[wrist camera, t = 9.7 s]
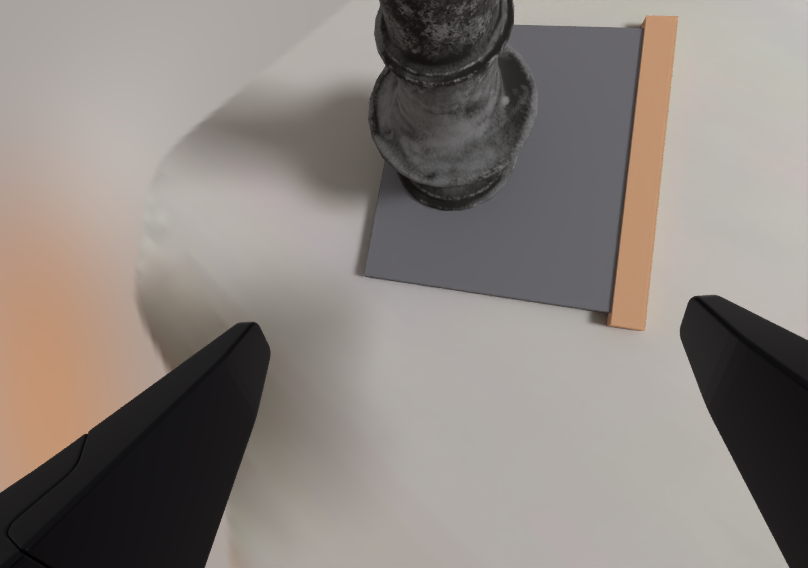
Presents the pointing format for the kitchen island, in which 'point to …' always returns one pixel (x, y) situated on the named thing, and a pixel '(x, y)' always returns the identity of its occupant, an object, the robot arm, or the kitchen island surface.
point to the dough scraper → (556, 184)
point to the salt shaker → (450, 98)
